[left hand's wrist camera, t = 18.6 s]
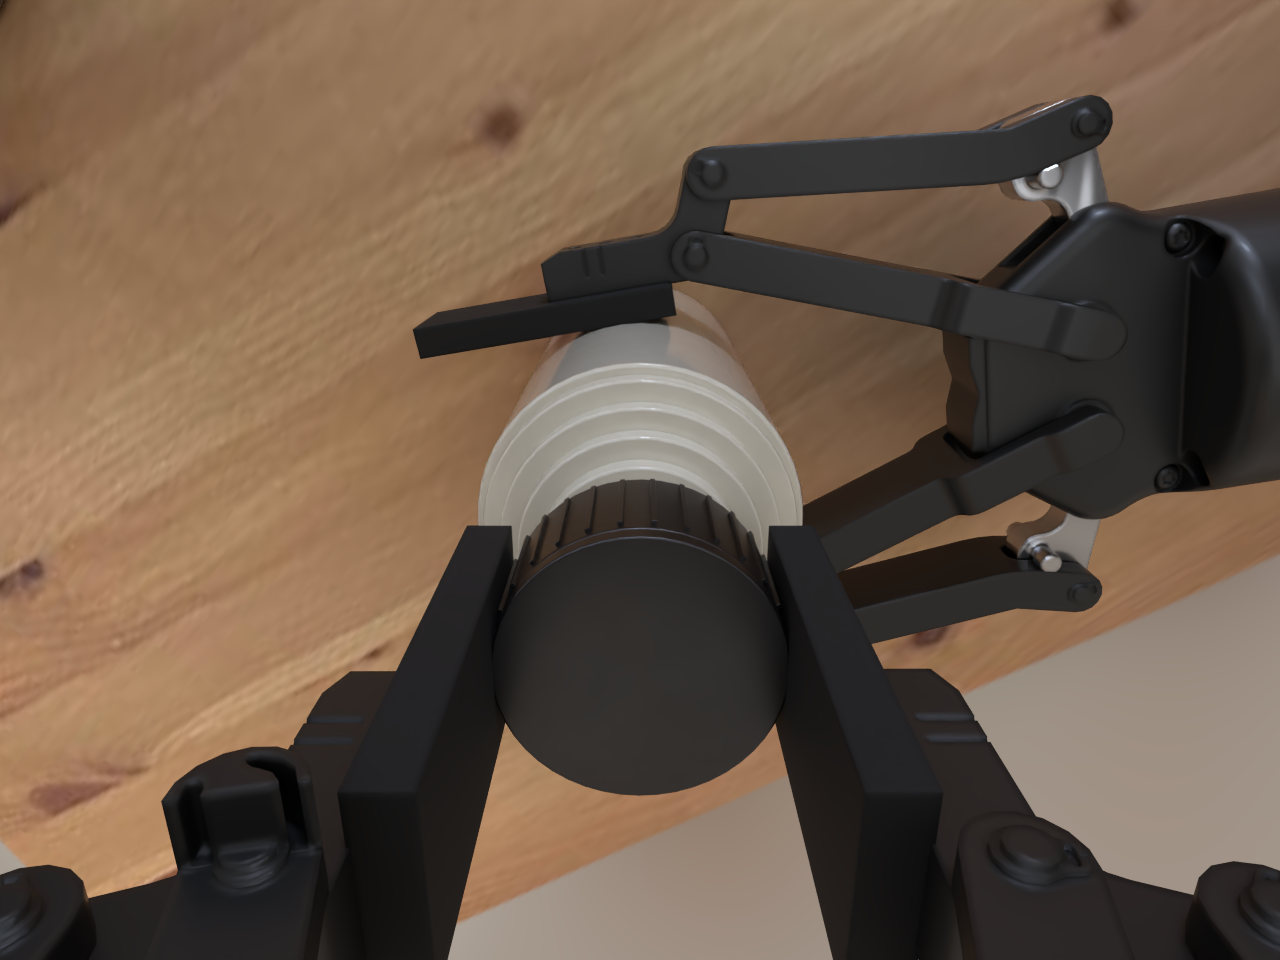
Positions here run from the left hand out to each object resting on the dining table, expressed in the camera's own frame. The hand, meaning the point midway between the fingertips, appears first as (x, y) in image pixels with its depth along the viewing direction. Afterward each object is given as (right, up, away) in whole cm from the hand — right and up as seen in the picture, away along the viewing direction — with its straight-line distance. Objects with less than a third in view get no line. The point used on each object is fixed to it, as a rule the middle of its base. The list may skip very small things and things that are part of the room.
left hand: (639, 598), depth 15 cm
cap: (0, -1, -2) cm, 2 cm away
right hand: (-5, +2, +9) cm, 11 cm away
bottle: (0, +5, +15) cm, 16 cm away
